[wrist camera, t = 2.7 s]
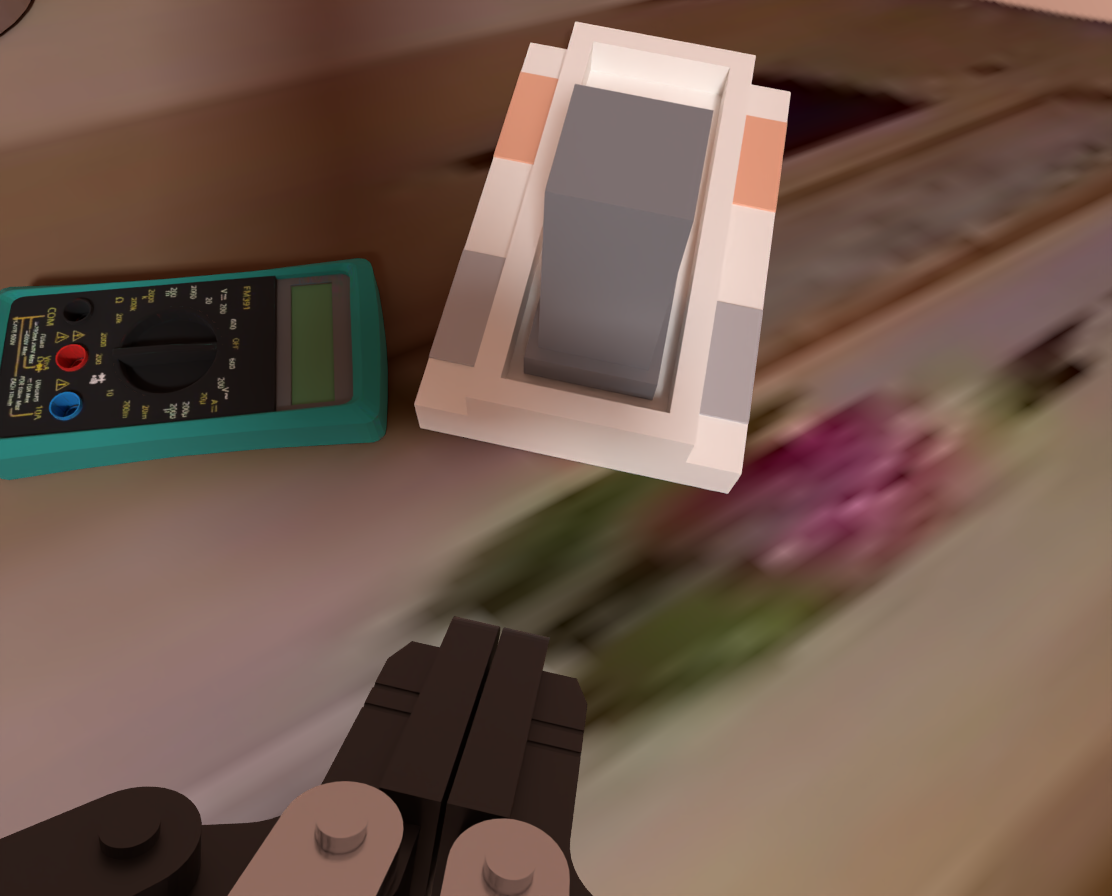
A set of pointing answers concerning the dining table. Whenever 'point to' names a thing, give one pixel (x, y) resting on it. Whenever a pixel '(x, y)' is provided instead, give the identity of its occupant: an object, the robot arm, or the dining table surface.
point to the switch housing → (701, 288)
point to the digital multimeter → (190, 366)
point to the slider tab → (615, 238)
